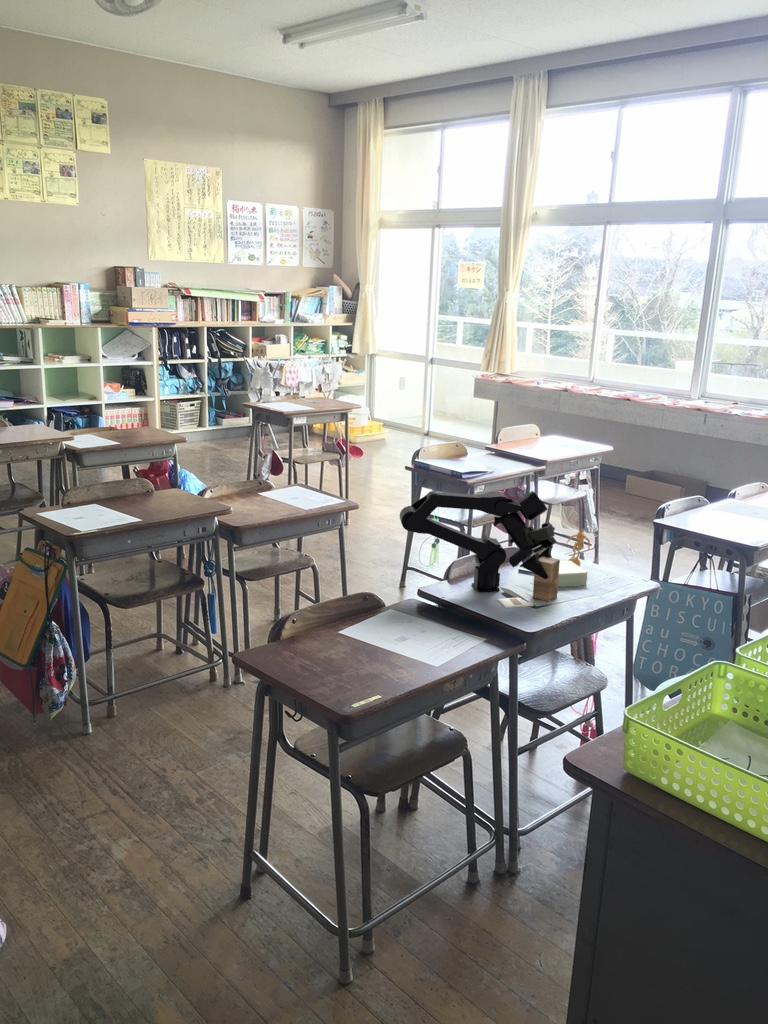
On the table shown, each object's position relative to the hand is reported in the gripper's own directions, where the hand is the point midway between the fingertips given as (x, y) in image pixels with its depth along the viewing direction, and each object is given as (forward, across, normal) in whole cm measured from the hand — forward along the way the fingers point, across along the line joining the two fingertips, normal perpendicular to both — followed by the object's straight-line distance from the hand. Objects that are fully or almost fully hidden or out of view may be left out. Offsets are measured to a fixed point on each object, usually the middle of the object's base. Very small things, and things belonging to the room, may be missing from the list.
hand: (551, 575), depth 226 cm
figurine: (+1, +30, +9) cm, 31 cm away
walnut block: (+4, 0, +6) cm, 7 cm away
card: (+1, -10, +9) cm, 13 cm away
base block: (+2, +17, +8) cm, 19 cm away
